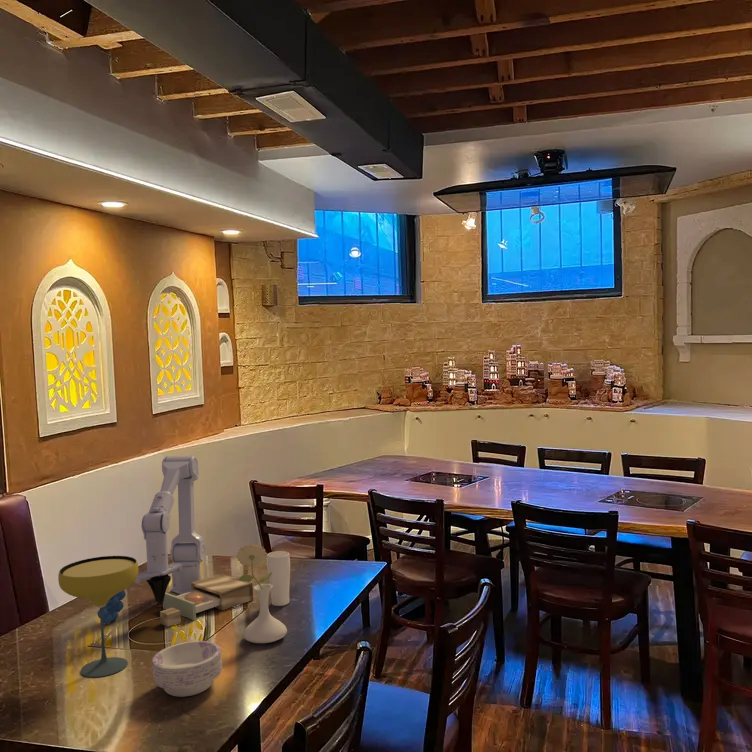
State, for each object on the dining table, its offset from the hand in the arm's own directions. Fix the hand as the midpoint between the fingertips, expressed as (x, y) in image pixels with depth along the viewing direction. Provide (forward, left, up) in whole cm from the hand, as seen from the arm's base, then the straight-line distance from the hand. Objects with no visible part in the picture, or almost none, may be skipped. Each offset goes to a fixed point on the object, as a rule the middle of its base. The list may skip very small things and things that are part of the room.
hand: (159, 601), depth 206 cm
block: (+4, +1, -5) cm, 7 cm away
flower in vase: (+34, +10, -6) cm, 36 cm away
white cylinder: (+17, +30, -6) cm, 35 cm away
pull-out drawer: (0, +11, -5) cm, 12 cm away
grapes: (-12, -9, -6) cm, 16 cm away
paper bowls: (+43, -18, -6) cm, 47 cm away
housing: (0, +21, -5) cm, 22 cm away
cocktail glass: (+17, -25, -6) cm, 31 cm away
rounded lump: (0, +11, -3) cm, 12 cm away
